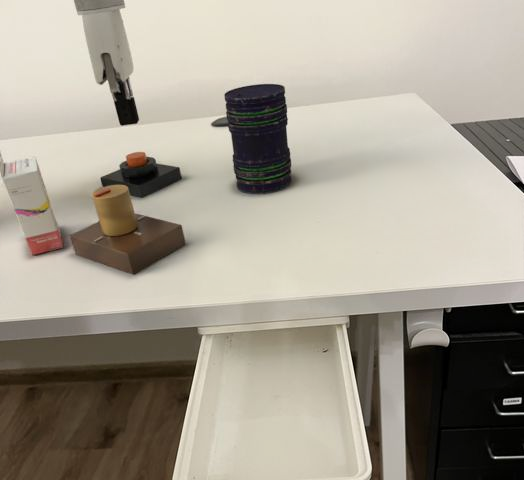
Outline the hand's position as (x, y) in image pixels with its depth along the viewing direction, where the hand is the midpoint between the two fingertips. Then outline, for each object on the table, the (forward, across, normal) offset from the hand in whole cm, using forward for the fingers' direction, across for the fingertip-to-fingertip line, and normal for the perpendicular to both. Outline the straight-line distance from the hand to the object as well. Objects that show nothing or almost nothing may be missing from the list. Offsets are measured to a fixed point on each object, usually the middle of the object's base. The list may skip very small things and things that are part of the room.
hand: (129, 123), depth 96 cm
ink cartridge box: (+11, +22, -12) cm, 27 cm away
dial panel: (+11, +28, +2) cm, 30 cm away
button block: (+11, 0, 0) cm, 11 cm away
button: (+7, 0, 0) cm, 7 cm away
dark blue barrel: (+11, +7, +22) cm, 26 cm away
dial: (+8, +28, +1) cm, 29 cm away
